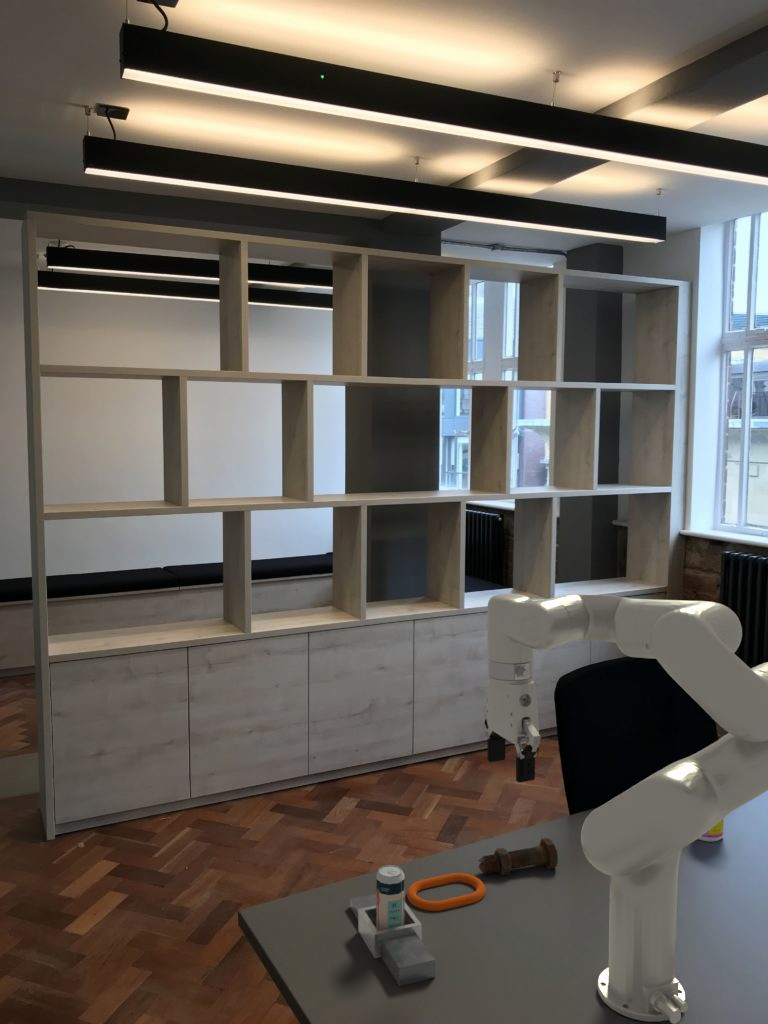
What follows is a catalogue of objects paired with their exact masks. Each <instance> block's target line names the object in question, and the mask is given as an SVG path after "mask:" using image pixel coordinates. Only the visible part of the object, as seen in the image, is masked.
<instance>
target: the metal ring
mask: <svg viewBox="0 0 768 1024" xmlns="http://www.w3.org/2000/svg"><path fill="white" fill-rule="evenodd" d="M452 883H463V884H468V885H471V886H473V888H475V891H474V892H471V893H467V894H463V895H459V896H455V897H451V898H446V899H442V900H426V899H424V898H421V897H419V896H418V895H417V893H418V892H420V891H423V890H425V889H426V890H427V889H430V888H434V887H439V886H443V885H448V884H452ZM486 890H487V889H486V885H485V883H484V882H483V881H482V880H481V879H480V878H478V877H476V876H474V875H472V874H469V873H464V872H463V873H462V872H454V873H453V872H452V873H447V874H443V875H442V874H441V875H438V876H433V877H430V878H423V879H420V880H417V881H415V882H413V883H412V884H411V885H410V886H409V887H408V889H407V890H406V891H407V892H406V898H407V900H408V902H409V903H410V904H411V905H413V906H414V907H416V908H417V909H420V910H423V911H430V912H441V911H446V910H450V909H454V908H458V907H462V906H463V907H464V906H467V905H471V904H474V903H477V902H479V901H481V900H482V899H484V897H485V895H486V892H487V891H486Z"/></svg>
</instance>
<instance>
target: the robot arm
mask: <svg viewBox="0 0 768 1024" xmlns="http://www.w3.org/2000/svg"><path fill="white" fill-rule="evenodd" d="M742 638H743V627H742V624H741V621H740V619H739V617H738V616H737V614H736V613H735V612H734V611H733V610H732V609H731V608H730V607H728V606H726V605H724V604H722V603H720V602H719V603H718V602H714V601H708V600H707V601H706V600H685V599H684V600H680V599H679V600H678V599H650V598H649V599H647V598H645V599H644V598H629V597H624V596H619V595H618V596H617V595H608V594H607V595H606V594H580V593H579V594H577V593H576V594H566V595H559V596H555V597H551V598H547V599H541V600H537V601H533V600H532V599H531V598H530V597H529V596H528V595H527V596H526V595H524V594H517V593H503V594H502V593H501V594H496V595H493V596H491V597H490V598H489V600H488V601H487V680H488V682H487V692H486V706H484V707H483V708H482V710H483V711H482V712H483V715H484V716H483V717H484V719H485V720H484V725H485V727H486V731H485V735H486V738H487V740H486V743H487V744H486V745H487V748H486V749H487V751H486V752H487V753H486V755H487V757H486V758H487V761H488V762H489V763H495V762H501V761H506V760H505V759H506V740H507V741H508V742H509V743H511V744H514V747H515V749H516V750H515V751H516V753H517V757H515V781H516V782H518V783H525V782H529V781H534V780H535V778H536V758H537V755H538V752H539V750H540V744H541V741H542V738H541V737H542V736H541V735H540V729H539V727H540V726H539V725H540V724H539V708H538V706H539V705H538V697H537V691H536V685H535V681H533V680H534V650H548V649H549V650H550V649H552V648H556V647H558V646H561V645H565V644H567V643H572V642H575V641H598V642H600V641H601V642H609V643H610V642H611V643H616V646H617V647H618V649H619V651H621V653H623V655H625V656H628V657H630V658H639V659H641V658H642V659H656V660H657V662H658V663H659V664H660V665H661V667H662V668H663V670H665V672H666V673H667V675H669V676H670V677H671V678H672V680H673V681H675V682H676V683H677V685H679V686H680V687H681V689H683V690H684V692H685V693H687V694H688V696H690V698H691V699H693V700H694V701H695V702H696V703H697V704H698V705H699V707H700V708H702V709H703V710H704V712H705V713H707V715H708V716H710V718H711V719H712V720H713V721H714V722H716V723H717V724H718V725H719V726H720V727H721V728H722V729H723V730H724V731H726V732H728V733H726V734H725V735H723V736H722V737H720V738H719V739H717V740H716V741H714V742H713V743H711V744H709V745H708V746H706V747H704V748H702V749H701V750H699V751H697V752H696V753H693V754H691V755H689V756H687V757H685V758H682V759H678V760H677V761H674V762H672V763H670V764H668V765H666V766H665V767H663V768H662V769H660V770H657V771H656V772H654V773H652V774H651V775H649V776H648V777H646V778H644V779H643V780H640V781H639V782H638V783H636V784H635V785H632V786H631V787H629V789H626V790H625V791H623V792H622V793H619V794H618V795H617V796H615V797H613V798H611V799H610V800H609V801H607V802H605V803H604V804H602V805H600V806H598V807H597V808H595V809H594V810H592V811H591V812H590V813H588V815H587V816H586V818H585V820H584V822H583V824H582V827H581V832H580V842H581V848H582V852H583V854H584V856H585V858H586V859H587V861H588V862H589V864H591V866H592V867H594V868H595V869H597V871H600V872H601V873H602V874H605V875H608V876H610V877H609V878H610V879H609V909H608V910H609V918H608V919H609V920H608V922H609V923H608V928H609V929H608V967H606V968H605V969H604V970H603V971H602V972H600V974H599V975H598V979H597V992H598V995H599V997H600V998H601V1000H602V1001H603V1002H604V1003H605V1004H606V1006H608V1007H609V1008H610V1009H611V1010H612V1011H615V1012H617V1013H618V1014H620V1015H622V1016H624V1017H627V1018H629V1019H633V1020H637V1021H642V1022H647V1023H648V1022H649V1023H654V1022H655V1023H656V1022H665V1021H669V1023H671V1024H677V1023H679V1022H680V1020H681V1018H682V1014H681V1013H686V1012H687V1011H688V1009H689V1004H688V1003H687V1002H686V992H685V990H684V987H683V986H682V984H681V983H680V982H679V979H677V978H676V950H677V948H676V947H677V946H676V944H677V943H676V941H677V910H678V909H677V905H678V903H677V902H678V877H679V870H680V869H679V867H680V860H681V854H682V849H684V848H685V847H687V846H689V845H690V844H692V843H693V842H695V841H696V840H699V839H698V838H699V837H701V836H702V835H703V834H705V833H706V832H707V831H709V830H710V829H711V828H713V827H714V826H715V825H717V824H718V823H719V822H720V821H721V820H722V819H723V818H724V819H725V817H727V816H728V815H729V814H731V813H732V812H734V811H736V810H737V809H738V808H740V807H742V806H743V805H745V804H748V803H749V802H751V801H753V800H754V799H756V798H758V797H759V796H761V795H762V794H764V793H766V792H768V661H767V662H763V663H761V664H758V665H756V666H754V667H752V668H751V667H750V666H748V665H747V664H746V663H745V662H744V661H743V660H742V659H741V658H740V657H739V656H737V655H736V654H735V653H736V652H737V650H738V649H739V646H740V645H741V642H742ZM522 744H526V745H525V747H524V748H523V745H522Z"/></svg>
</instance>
